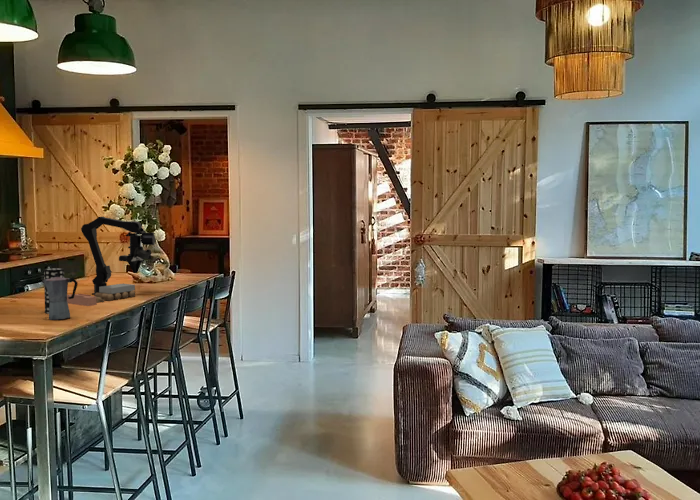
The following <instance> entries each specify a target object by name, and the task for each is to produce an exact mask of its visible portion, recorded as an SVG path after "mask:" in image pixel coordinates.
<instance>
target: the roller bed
mask: <svg viewBox="0 0 700 500" xmlns="http://www.w3.org/2000/svg"><path fill="white" fill-rule="evenodd" d="M94 296H95V297H100V298H101V302H100V303H105V301H107V302H113V300H116V299H117V301H119V300H120V299H127V298H134V297H135V296H136V290H134V291H127V292H121V293H114V294H108V293H95V295H94ZM118 299H119V300H118Z"/></svg>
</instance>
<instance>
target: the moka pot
mask: <svg viewBox="0 0 700 500" xmlns="http://www.w3.org/2000/svg"><path fill="white" fill-rule="evenodd" d="M41 282H42V283H43V286H44V285H45V286H46V288H47V291H48V296H49V301H50V305H49V314H48V320H50V321H51V320H53V321H56V320H58V321H59V320H64V319H69V318H71V312H70V308H69V303H67V295H68V288H69V287H68V285H69V283H72V282H73V284H74V285H73V290H72V293H71V294H72V296H71V297H68V299H73V298H74V295H75V294H76V292H77V291H76V290H77V288H78V284H79V283H78V281H77V280H76V279H75V278H74V277H70V278H69V277H64V278H62V277H58V273H55V277H54V278H50V279H45V280H44V279H42V281H41Z"/></svg>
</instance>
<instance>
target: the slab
mask: <svg viewBox="0 0 700 500" xmlns="http://www.w3.org/2000/svg"><path fill="white" fill-rule="evenodd" d="M127 291H136V285H135V284H132V283H131V284H130V283H116V284H111V285H108V284H107V286H101V287H99V293H108V294H114V293H121V292H127Z"/></svg>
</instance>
